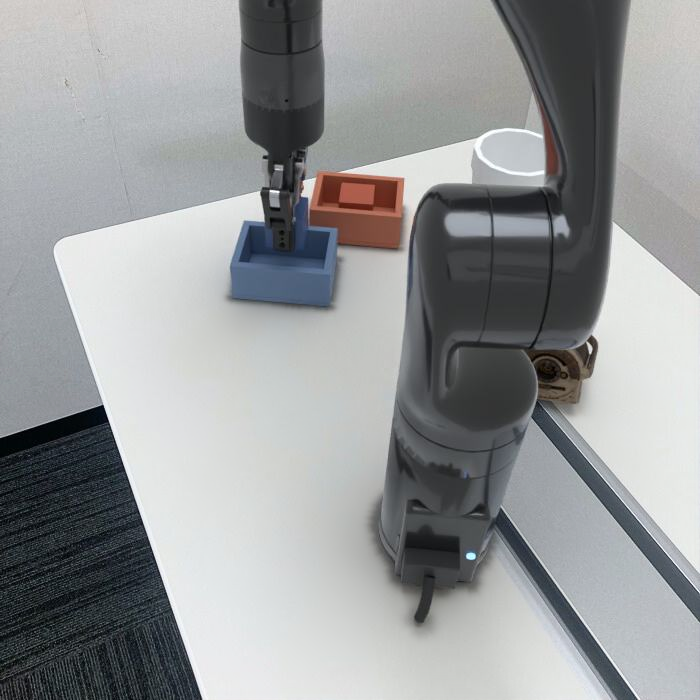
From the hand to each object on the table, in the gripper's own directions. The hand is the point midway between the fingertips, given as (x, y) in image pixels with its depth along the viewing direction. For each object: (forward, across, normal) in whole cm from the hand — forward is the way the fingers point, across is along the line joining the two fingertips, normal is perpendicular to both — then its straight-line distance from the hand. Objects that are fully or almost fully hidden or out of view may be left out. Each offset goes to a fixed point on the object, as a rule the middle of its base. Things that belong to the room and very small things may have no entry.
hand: (287, 235), depth 81 cm
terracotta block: (+5, +11, -6) cm, 14 cm away
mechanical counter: (+6, -10, -29) cm, 31 cm away
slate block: (0, 0, 0) cm, 0 cm away
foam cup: (+6, +9, -24) cm, 26 cm away
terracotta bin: (+6, +11, -7) cm, 14 cm away
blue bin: (+6, 0, 0) cm, 6 cm away
